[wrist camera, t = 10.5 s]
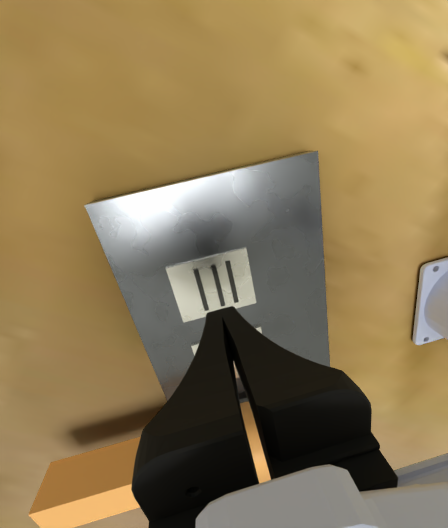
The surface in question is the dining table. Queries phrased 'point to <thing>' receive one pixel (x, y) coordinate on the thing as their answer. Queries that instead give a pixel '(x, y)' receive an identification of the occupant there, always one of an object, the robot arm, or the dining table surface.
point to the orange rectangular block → (107, 482)
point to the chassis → (221, 259)
